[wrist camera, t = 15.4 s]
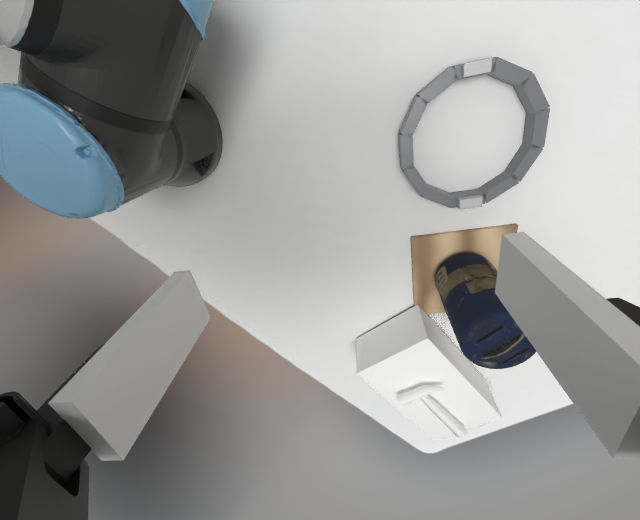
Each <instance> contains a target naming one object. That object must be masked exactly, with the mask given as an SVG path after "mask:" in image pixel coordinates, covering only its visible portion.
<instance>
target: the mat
mask: <svg viewBox="0 0 640 520" xmlns="http://www.w3.org/2000/svg"><path fill="white" fill-rule="evenodd" d="M517 229H518V225H517V224H510V225H501V226H493V227H485V228H477V229H469V230H460V231H452V232H444V233H436V234H427V235H419V236H411V252H412V273H413V294H414V306H416V305H419V306H420V307H421V308H422V309H423V310H424V312H425V313H426V314H431V313H444V312H446V311H445V309H444V306H443V303H442V301H441V298H440V295H439V292H438V290H437V288H436V285H435V275H436V272H437V270H438V268H439V266H440V265H441V264H442V263H443V262H444V261H445V260H447V259H448V258H450V257H452V256H454V255H457V254H461V253H474V254H478V255H481V256H483V257H485V258H486V259H488V260H489V261H490V262H491V264H492V265H493V266H494V267H495V268H496V270H497V271H498V264H499V256H500V247H501V239H502V234H510V233H517Z"/></svg>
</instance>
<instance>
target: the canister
mask: <svg viewBox="0 0 640 520" xmlns="http://www.w3.org/2000/svg"><path fill="white" fill-rule="evenodd" d="M497 272H498V271H497V270H496V268H495V267H494V266H493V265H492V264H491V262H490V261H489V260H488V259H486V258H485V257H483V256H481V255H478V254H474V253H461V254H457V255H454V256H452V257H450V258H448V259H447V260H445V261H444V262H443V263H442V264H441V265H440V266H439V268H438V270H437V272H436V275H435V285H436V288H437V290H438V292H439V295H440V298H441V301H442V303H443V306H444V309H445V311H446V314H447V316H448V318H449V320H450V323H451V325H452V328H453V331H454V333H455V335H456V338H457V341H458V343H459V345H460V348H461V350H462V352H463V354H464V355H465V356H466V357H467V358H468V359H469V360H470V361H471V362H473V363H474V364H476V365H478V366H481V367H485V368H491V369H503V368H509V367H513V366H516V365H518V364H520V363H523V362H524V361H526V360H527V359H529V358H530V357H531V356H533V355H534V354H535V352H536V350H535V349H534V347H533V346H532V344H531V343H530V342H529V340H528V339H527V337H526V336H525V334H524V333H523V332H522V330H521V329H520V327H519V326H518V325H517V323H516V322H515V320H514V319H513V318H512V316H511V315H510V313H509V312H508V311H507V309H506V308H505V306H504V305H503V304H502V302H501V301H500V299H499V298H498V297H497V295H496V294H495V288H496V280H497Z"/></svg>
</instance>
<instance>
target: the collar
mask: <svg viewBox="0 0 640 520" xmlns="http://www.w3.org/2000/svg"><path fill="white" fill-rule="evenodd" d="M482 74H487V75H489V76H491V77H494V78H496V79H498V80H501V81H503V82H505V83H508V84H510V85H512V86H513V87H514V89H515V91H516V93H517V95H518V97H519V99H520V101H521V103H522V105H523V107H524V109H525V111H526V119H525V127H524V135H523V144H522V145H521V147H520V148H519V150H518V152H517V153H516V155H515V156H514V158H513V159H512V161H511V162H510V164H509V165H508V167H507V168H506V170H505V171H504V172H503V173H501V174H500V175H498V176H497V177H495V178H494V179H492V180H491V181H489V182H488V183H486V184H484V185H483V186H481V187H480V188H478V189H474V190H467V191H460V192H453V193H448V192H446V191H443V190H441V189H438V188H436V187H433V186H430V185H428V184H426V183H425V182H424V180H423V179H422V177H421V176H420V174H419V173H418V172H417V170H416V169H415V167H414V164H413V138H412V135H413V133H414V131H415V129H416V127H417V125H418V123H419V120H420V118H421V116H422V114H423V112H424V110H425V108H426V106H427V104H428V103H429V102H430V101H431V100H433V99H434V98H435V97H436V96H437V95H439V94H440V93H441V92H442V91H444V90H445V89H446V88H447V87H448V86H450V85H451V84H452V83H453V82H455V81H456V80H457V79H462V78H467V77H472V76H477V75H482ZM416 96H417V97H414V99H413V101H412V103H411V105H410V108H409V110H408V112H407V114H406V117H405V119H404V121H403V123H402V125H401V128H400V130H399V132H400V133H398V134H399V151H400V166H401V168H402V170H403V172H404V173H405V174H406V176H407V177H408V179H409V180H410V181H411V183H412V184H413V186H414V187H415V188H416V190H417V191H418V193H419V194H420V195H421V196H422V197H424V198H426V199H429V200H431V201H434V202H437V203H439V204H442V205H444V206H447V207H449V208H455V207H458V208H459V209H467V208H474V207H482V204H485V202H486V203H488V202H489V201H491V200H492V199H494V198H496V197H497V196H499V195H500V194H502V193H504V192H505V191H507V190H508V189H510V188H512V187H513V186H515V185H516V184H518V183H519V182H518V181H521V180H522V178H523V177H524V176H525V174H526V173H527V171H528V170H529V168H530V167H531V166H532V164H533V163H534V161H535V160H536V158H537V157H538V156H539V154H540V153H541V151H542V150H543V148H541V147H544V144H545V137H546V131H547V124H548V118H549V111H550V108H548V107H550V106H549V104H548V102H547V100H546V98H545V96H544V94H543V92H542V90H541V87H540V85H539V83H538V81H537V79H536V77H535V75H534V73H533V74H532V72H531V71H529V70H526V69H524V68H522V67H519V66H517V65H515V64H513V63H510V62H508V61H506V60H503V59H501V58H499V57H494V58H488V59H483V60H479V61H474V62H469V63H465V64H461V65H456V66H452V67H449V68H447V69H446V70H445V71H443V72H442V73H441V74H440V75H439V76H438V77H436V78H435V79H434V80H433V81H432V82H430V83H429V84H428V85H427V86H426V87H425V88H423V89H422V90H421V91H420V92H419V93H417V94H416Z"/></svg>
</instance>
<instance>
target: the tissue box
mask: <svg viewBox="0 0 640 520" xmlns="http://www.w3.org/2000/svg"><path fill="white" fill-rule="evenodd" d="M356 358H357V374H358V375H359V376H360V377H361V378H362V379H363V380H364V381H366V382H367V383H368V384H369V385H370V386H371V387H372V388H373V389H375V390H376V391H377V392H378V393H379V394H380V395H381V396H383V397H384V398H385V399H386V400H387V401H388V402H389V403H390V404H392V405H393V406H394V407H395V408H396V409H397V410H398V411H400V412H401V413H402V414H403V415H404V416H405V417H406V418H407V419H409V420H410V421H411V422H412V423H413V424H414V425H415V426H416V427H418V428H419V429H420V430H421V431H422V432H423V433H424V434H426V435H427V436H428V437H429V438H430V439H431V440H432V441H436V440H439V439H442V438H445V437H448V436H450V435H453V434H455V435H456V436H458V437H461V436H464V435H465V434H466V432H467V430H468V429H471V428H474V427H477V426H480V425H483V424H486V423H489V422H492V421H495V420H498V419H501V418H502V416H501V414H500V412H499V409H498V407H497V405H496V403H495V400H494V398H493V396H492V393H491V391H490V389H489V387H488V384H487V382H486V380H485V378H484V377H483V376H482V375H481V374H480V373H479V372H478V371H477V369H476V368H475V367H474V366H473V365H472V364H471V363H470V362H469V361H468V359H467V358H466V357H465V356H464V355H463V354H462V353H461V352H460V350H459V349H458V348H457V347H456V346H455V345H454V344H453V343H452V342H451V340H450V339H449V338H448V337H447V336H446V335H445V334H444V333H443V332H442V330H441V329H440V328H439V327H438V326H437V325H436V324H435V323H434V322H433V320H432V319H431V318H430V317H429V316H428V315H427V314H426V313H425V312H424V310H423V309H422V308H421V307H420V306H419V305H416V306H414V307H412V308H410V309H409V310H407V311H405V312H403V313H401V314H400V315H398V316H396V317H394V318H392V319H391V320H389V321H387V322H385V323H383V324H382V325H380V326H378V327H376V328H375V329H373V330H371V331H369V332H367V333H366V334H364V335H362V336H360V337H358V338H357V339H356Z"/></svg>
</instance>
